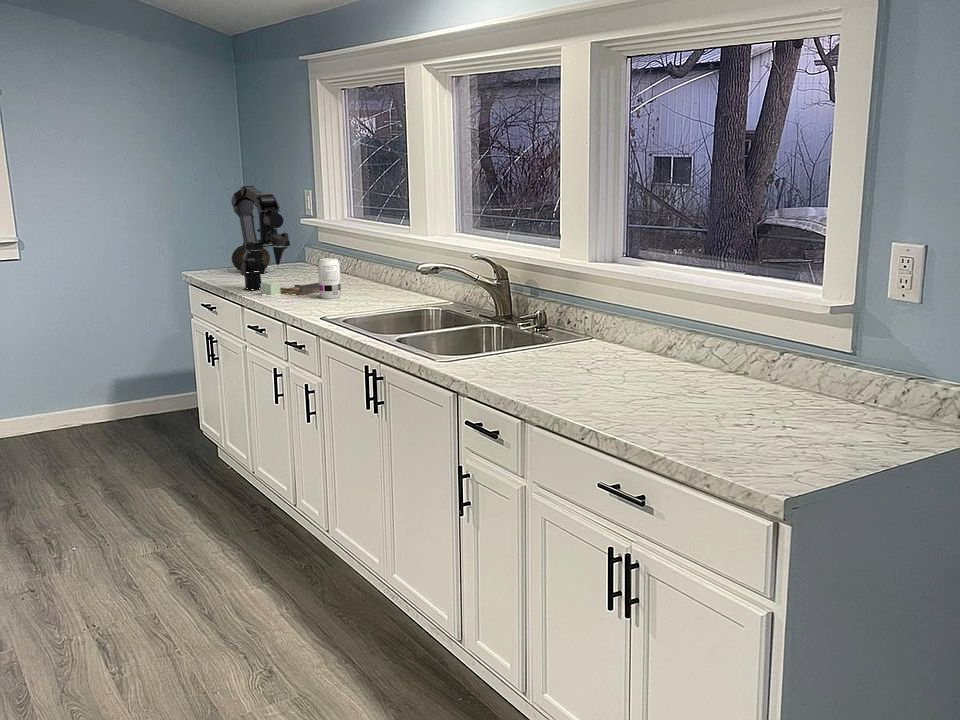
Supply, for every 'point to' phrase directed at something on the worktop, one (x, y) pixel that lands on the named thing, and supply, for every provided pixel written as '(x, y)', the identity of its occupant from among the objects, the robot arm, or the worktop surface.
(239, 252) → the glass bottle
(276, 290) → the block
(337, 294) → the supplement can
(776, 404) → the worktop surface
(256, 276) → the robot arm
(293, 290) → the channel board
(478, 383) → the worktop surface
